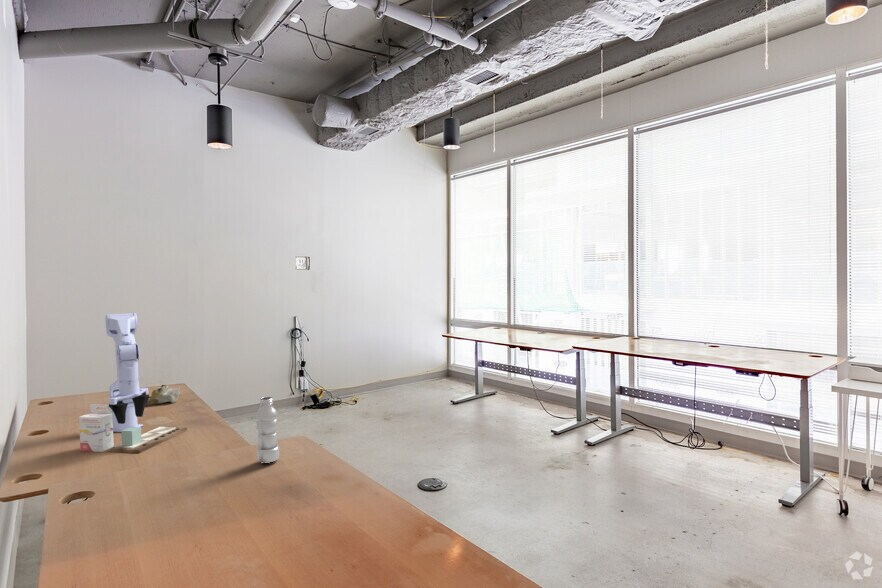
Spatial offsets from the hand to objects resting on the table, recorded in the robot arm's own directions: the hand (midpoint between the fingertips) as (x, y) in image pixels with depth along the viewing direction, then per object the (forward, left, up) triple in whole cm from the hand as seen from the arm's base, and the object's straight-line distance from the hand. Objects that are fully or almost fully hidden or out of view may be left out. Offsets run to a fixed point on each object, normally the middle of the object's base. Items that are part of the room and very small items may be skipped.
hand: (130, 419), depth 166 cm
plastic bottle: (+54, -6, -10) cm, 55 cm away
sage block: (0, 0, -8) cm, 8 cm away
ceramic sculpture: (-30, +52, -10) cm, 61 cm away
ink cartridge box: (-10, -3, -10) cm, 15 cm away
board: (+2, +7, -9) cm, 12 cm away
